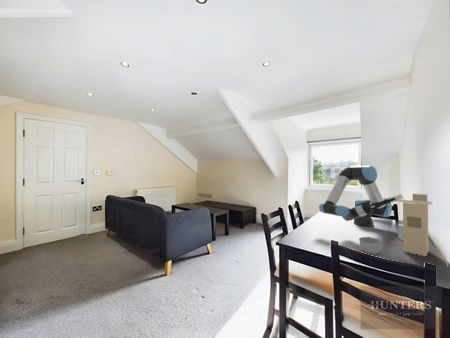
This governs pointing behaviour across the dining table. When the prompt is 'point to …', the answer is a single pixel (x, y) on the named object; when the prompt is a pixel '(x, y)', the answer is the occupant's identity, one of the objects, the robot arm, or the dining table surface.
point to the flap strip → (416, 199)
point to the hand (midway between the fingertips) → (401, 196)
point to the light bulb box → (400, 231)
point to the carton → (415, 228)
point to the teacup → (370, 245)
